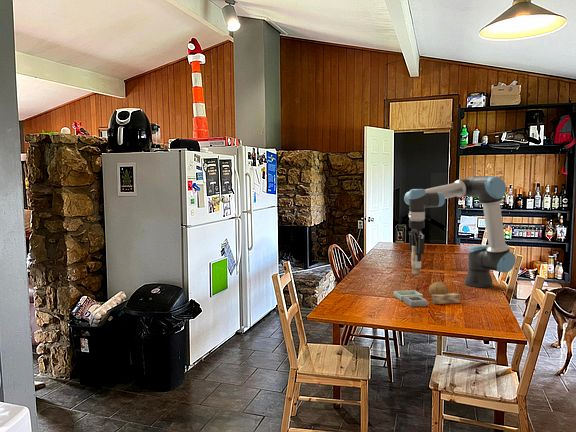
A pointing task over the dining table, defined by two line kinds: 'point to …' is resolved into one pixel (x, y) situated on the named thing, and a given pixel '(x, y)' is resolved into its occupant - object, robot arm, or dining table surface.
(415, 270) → the dowel
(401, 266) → the dining table surface
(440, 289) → the potato
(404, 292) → the tray
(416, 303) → the collar
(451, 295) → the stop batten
